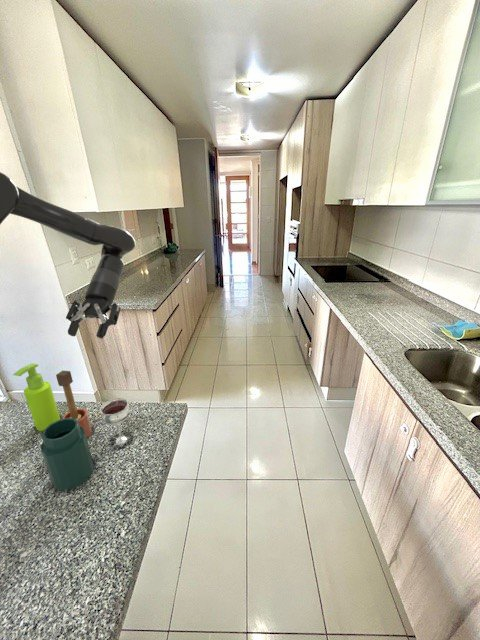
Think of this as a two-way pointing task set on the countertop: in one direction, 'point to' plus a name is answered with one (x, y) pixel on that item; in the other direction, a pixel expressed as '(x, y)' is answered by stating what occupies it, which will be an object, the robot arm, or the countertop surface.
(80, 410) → the brush cup
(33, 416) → the soap dispenser
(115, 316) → the robot arm
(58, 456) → the bottle
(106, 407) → the wineglass
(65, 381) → the brush
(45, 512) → the countertop surface
